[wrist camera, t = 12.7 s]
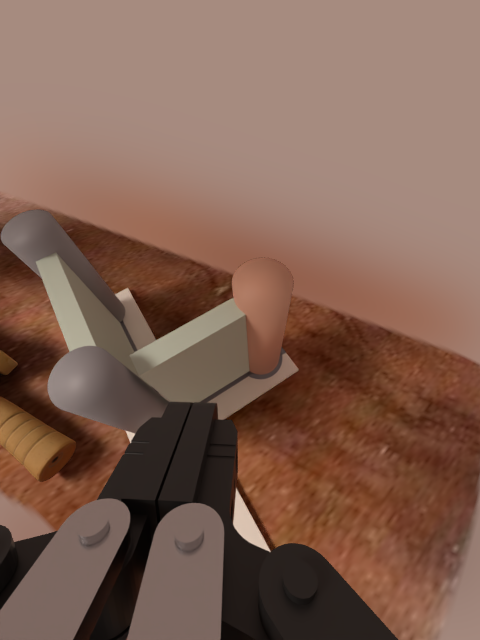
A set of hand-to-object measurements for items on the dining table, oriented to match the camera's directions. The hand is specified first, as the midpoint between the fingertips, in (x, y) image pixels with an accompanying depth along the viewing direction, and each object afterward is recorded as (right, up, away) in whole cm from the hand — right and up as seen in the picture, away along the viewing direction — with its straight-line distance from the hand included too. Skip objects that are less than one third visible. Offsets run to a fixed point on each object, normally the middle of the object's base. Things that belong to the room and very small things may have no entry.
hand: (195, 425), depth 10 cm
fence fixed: (-7, 0, +15) cm, 17 cm away
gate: (+1, -1, +13) cm, 14 cm away
